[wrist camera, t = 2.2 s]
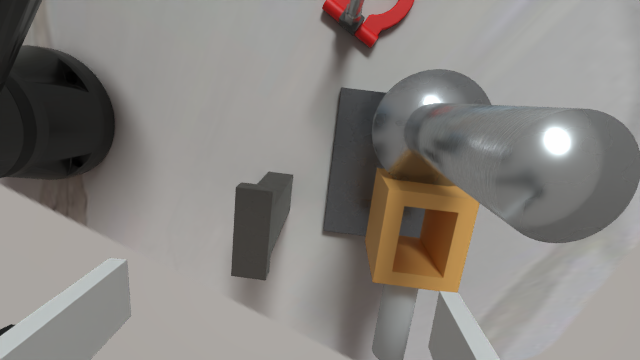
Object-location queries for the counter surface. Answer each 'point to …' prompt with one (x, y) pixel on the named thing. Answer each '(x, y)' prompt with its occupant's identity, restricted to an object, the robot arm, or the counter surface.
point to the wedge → (259, 223)
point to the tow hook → (347, 11)
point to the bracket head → (414, 251)
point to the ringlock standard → (481, 157)
